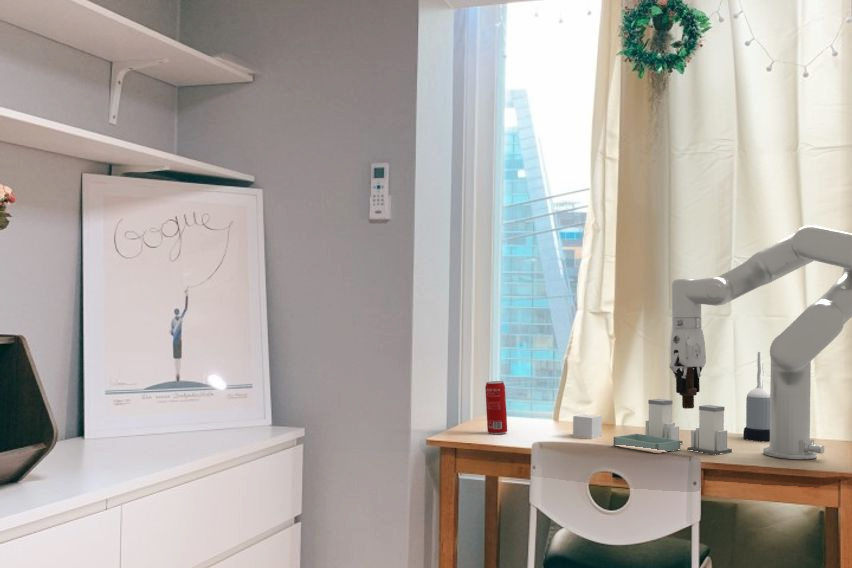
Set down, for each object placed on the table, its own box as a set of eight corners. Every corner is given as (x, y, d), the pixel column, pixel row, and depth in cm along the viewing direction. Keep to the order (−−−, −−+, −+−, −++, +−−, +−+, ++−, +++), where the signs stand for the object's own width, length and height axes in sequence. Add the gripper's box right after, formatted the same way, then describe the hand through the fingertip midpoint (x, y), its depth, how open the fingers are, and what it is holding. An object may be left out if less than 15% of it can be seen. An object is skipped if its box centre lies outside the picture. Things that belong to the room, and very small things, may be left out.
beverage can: (510, 434, 252) (511, 382, 252) (490, 435, 250) (491, 382, 250) (501, 431, 257) (502, 380, 258) (481, 432, 255) (482, 380, 255)
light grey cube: (601, 436, 251) (602, 415, 251) (591, 439, 246) (592, 418, 246) (583, 434, 254) (583, 413, 254) (572, 436, 250) (573, 415, 250)
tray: (680, 450, 230) (680, 440, 230) (657, 454, 223) (657, 444, 223) (636, 442, 240) (636, 433, 240) (613, 446, 234) (613, 436, 234)
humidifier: (760, 436, 255) (761, 350, 256) (780, 440, 247) (780, 352, 248) (737, 437, 253) (738, 351, 253) (756, 442, 245) (757, 352, 245)
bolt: (699, 409, 231) (698, 352, 231) (679, 409, 232) (678, 352, 232) (696, 407, 236) (695, 351, 237) (677, 406, 237) (676, 351, 238)
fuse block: (731, 452, 228) (732, 406, 228) (714, 455, 223) (714, 408, 223) (658, 439, 246) (658, 398, 246) (640, 442, 241) (640, 399, 241)
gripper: (680, 325, 226) (681, 395, 226) (717, 324, 237) (718, 391, 237) (655, 325, 232) (657, 393, 232) (693, 323, 243) (694, 389, 242)
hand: (687, 391), depth 234 cm, fingers closed on bolt, 4 cm apart
